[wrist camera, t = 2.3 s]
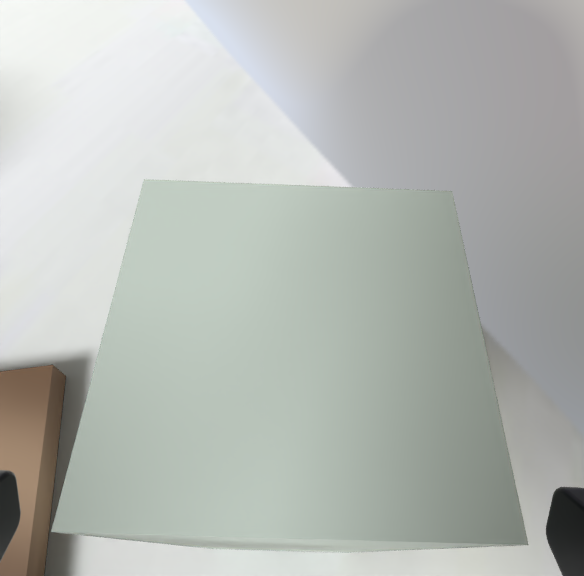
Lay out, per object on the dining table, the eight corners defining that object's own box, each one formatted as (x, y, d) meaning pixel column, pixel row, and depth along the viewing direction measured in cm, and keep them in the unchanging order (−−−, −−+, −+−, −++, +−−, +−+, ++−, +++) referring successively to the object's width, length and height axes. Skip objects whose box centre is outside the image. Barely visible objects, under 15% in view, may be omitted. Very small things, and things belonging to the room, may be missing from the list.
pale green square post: (347, 552, 15) (529, 545, 4) (213, 548, 15) (50, 531, 4) (343, 417, 17) (452, 191, 7) (226, 413, 17) (143, 179, 6)
